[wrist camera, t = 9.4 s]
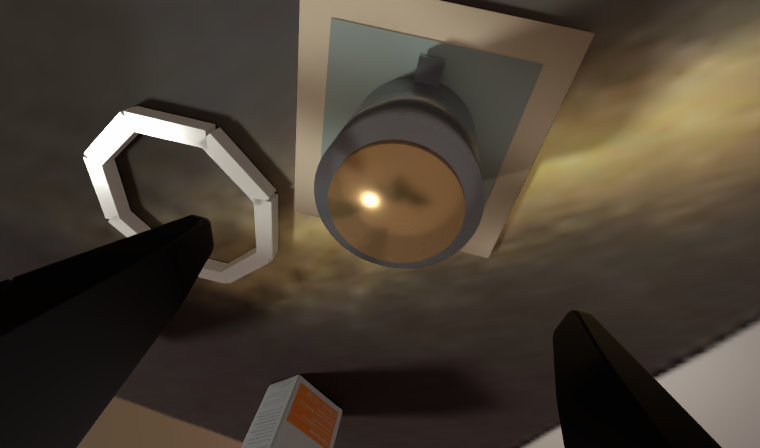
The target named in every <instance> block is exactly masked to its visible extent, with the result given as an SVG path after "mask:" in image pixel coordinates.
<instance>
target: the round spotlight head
mask: <svg viewBox="0 0 760 448" xmlns="http://www.w3.org/2000/svg"><path fill="white" fill-rule="evenodd" d="M445 62H446V59H445V58H441V57H437V56H432V55H428V54H424V53H420V55H419V59H418V64H417V68H416V73H415V77H403V78H398V79H394V80H391V81H389V82H387V83H384V84H383V85H381V86H379V87H378V88H376V89H375V90H374V91H372V92H371V93H370V94H369V95H368V96H367V97H366V98H365V100H364V101H363V102H362V104H361V105H360V106H359V108H358V109H357V110H356V112H355V113H354V114H353V116H352V117H351V118H350V120H349V121H348V122H347V124H346V125H345V126H344V128H343V129H342V130H341V132H340V133H339V134H338V136H337V137H336V138H335V140H334V141H333V142H332V144H331V145H330V146H329V148H328V149H327V150H326V152H325V153H324V155H323V156H322V158H321V160H320V162H319V164H318V167H317V171H316V174H315V180H314V197H315V203H316V207H317V210H318V213H319V215H320V217H321V220H322V222H323V223H324V225H325V227H326V228H327V230H328V231H329V232H330V234H331V235H332V236H333V237H334V238H335V239H336V240H337V241H338V242H339V243H340V244H341V245H342V246H343V247H345V248H346V249H347V250H349V251H350V252H352V253H353V254H355V255H357V256H359V257H360V258H362V259H365V260H367V261H369V262H372V263H375V264H378V265H382V266H387V267H394V268H417V267H423V266H428V265H431V264H435V263H438V262H440V261H442V260H444V259H447V258H448V257H450V256H452V255H453V254H455V253H456V252H458V251H459V250H460V249H461V248H463V247H464V246H465V245H466V244H467V242H468V241H469V240H470V239H471V238H472V236H473V235H474V234H475V232H476V230H477V228H478V226H479V224H480V221H481V218H482V216H483V210H484V201H485V194H484V187H483V180H482V174H481V167H480V160H479V154H478V147H477V141H476V134H475V127H474V123H473V119H472V116H471V114H470V112H469V109H468V108H467V106H466V105H465V103H464V102H463V100H462V99H461V98H460V97H459V96H458V95H457V94H456V93H455V92H454V91H453V90H452V89H450V88H448V87H447V86H445V85H444V84H442V83H440V80H441V77H442V73H443V69H444V66H445Z"/></svg>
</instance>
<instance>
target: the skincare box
mask: <svg viewBox="0 0 760 448" xmlns="http://www.w3.org/2000/svg"><path fill="white" fill-rule="evenodd" d="M341 416H342V409H341V408H339V407H338V406H336V405H335V404H334V403H333V402H332V401H330V400H329V399H328V398H327V397H325V396H324V395H323V394H322V393H320V392H319V391H318V390H317V389H316V388H315V387H313V386H312V385H311V384H310V383H309V382H308V381H306V380H305V379H304V378H303V377H302V376H301V375H296V376H294V377H291V378H288V379H285V380H282V381H279V382H276V383H273V384H271V385H270V386H269V388H268V390H267V392H266V394H265V396H264V398H263V400H262V403H261V405H260V407H259V409H258V411H257V414H256V416H255V418H254V420H253V422H252V424H251V427H250V429H249V431H248V433H247V435H246V437H245V440H244V442H243V444H242V446H241V448H333V446H334V442H335V438H336V435H337V431H338V427H339V423H340V419H341Z"/></svg>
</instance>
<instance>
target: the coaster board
mask: <svg viewBox="0 0 760 448" xmlns="http://www.w3.org/2000/svg"><path fill="white" fill-rule="evenodd" d="M594 35H595V33H592V32H588V31H583V30H578V29H573V28H569V27H564V26H559V25H555V24H550V23H545V22H541V21H536V20H531V19H527V18H522V17H517V16H512V15H508V14H503V13H498V12H494V11H489V10H484V9H480V8H475V7H470V6H466V5H461V4H456V3H451V2H447V1H442V0H300V17H299V54H298V90H297V127H296V163H295V200H294V211H295V212H299V213H303V214H307V215H311V216H315V217H320V215H319V213H318V210H317V207H316V203H315V197H314V180H315V174H316V171H317V167H318V164H319V162H320V160H321V158H322V156H323V155H324V153H325V152H326V150H327V149H328V148H329V146H330V145H331V144H332V142H333V141H334V140H335V138H336V137H337V136H338V134H339V133H340V132H341V130H342V129H343V128H344V126H345V125H346V124H347V122H348V121H349V120H350V118H351V117H352V116H353V114H354V113H355V112H356V110H357V109H358V108H359V106H360V105H361V104H362V102H363V101H364V100H365V98H366V97H367V96H368V95H369V94H370V93H371V92H372V91H374V90H375V89H376V88H378V87H379V86H381V85H383V84H384V83H387V82H389V81H391V80H394V79H398V78H403V77H415V73H416V68H417V64H418V59H419V55H420V53H424V54H428V55H432V56H437V57H441V58H445V59H446V62H445V66H444V69H443V73H442V77H441V80H440V83H442V84H444V85H445V86H447V87H448V88H450V89H452V90H453V91H454V92H455V93H456V94H457V95H458V96H459V97H460V98H461V99H462V100H463V102H464V103H465V105H466V106H467V108H468V109H469V112H470V114H471V116H472V119H473V123H474V127H475V134H476V141H477V147H478V154H479V160H480V167H481V174H482V180H483V187H484V194H485V201H484V210H483V216H482V218H481V221H480V224H479V226H478V228H477V230H476V232H475V234H474V235H473V236H472V238H471V239H470V240H469V241H468V242H467V244H466V245H465V246H464V247H463V248H461V249H460V250H459V251H460V252H464V253H468V254H472V255H476V256H481V257H485V258H489V256H490V254H491V252H492V249H493V247H494V245H495V243H496V241H497V239H498V237H499V235H500V233H501V231H502V228H503V226H504V224H505V222H506V220H507V218H508V216H509V214H510V212H511V209H512V207H513V205H514V203H515V201H516V199H517V197H518V195H519V193H520V191H521V188H522V186H523V184H524V182H525V180H526V178H527V176H528V174H529V172H530V170H531V167H532V165H533V163H534V161H535V159H536V157H537V155H538V153H539V151H540V148H541V146H542V144H543V142H544V140H545V138H546V136H547V134H548V132H549V130H550V127H551V125H552V123H553V121H554V119H555V117H556V115H557V113H558V111H559V109H560V106H561V104H562V102H563V100H564V98H565V96H566V94H567V92H568V90H569V87H570V85H571V83H572V81H573V79H574V77H575V75H576V73H577V71H578V69H579V66H580V64H581V62H582V60H583V58H584V56H585V54H586V52H587V50H588V48H589V45H590V43H591V41H592V39H593V37H594ZM320 218H321V217H320Z"/></svg>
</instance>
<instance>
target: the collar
mask: <svg viewBox="0 0 760 448" xmlns="http://www.w3.org/2000/svg"><path fill="white" fill-rule="evenodd" d="M139 133H141V134H145V135H150V136H154V137H158V138H162V139H166V140H171V141H175V142H179V143H183V144H187V145H192V146H196V147H200V148H203V149H204V150H205V151H206V152H207V153H208V155H209V156H210V157H211V158H212V159H213V160H214V161H215V162H216V163H217V164H218V165H219V166H220V167H221V168H222V169H223V170H224V171H225V173H226V174H227V175H228V176H229V177H230V178H231V179H232V180H233V181H234V182H235V183H236V184H237V185H238V186H239V187H240V188H241V189H242V191H243V192H244V193H245V194H246V195H247V196H248V197H249V198H250V199H251V200H252V201H253V202H254V216H255V234H256V248H254V249H252V250H250V251H249V252H247V253H245V254H243V255H242V256H240V257H238V258H236V259H234V260H233V261H231V262H229V263H224V262H220V261H216V260H212V259H208V260H207V262H206V264H205V265H204V267H203V269H202V270H201V272H200V274H199V276H198V277H200V278H204V279H208V280H211V281H215V282H219V283H223V284H226V283H228V284H230V283H232V282H234V281H236V280H238V279H239V278H241V277H243V276H245V275H247V274H249V273H251V272H253V271H255V270H257V269H259V268H261V267H263V266H264V265H266V264H268V263H270V262H271V261H272V260H273V258H274V257H275V255H276V254H277V252H278V194H275V191H276V189H275V188H274V187H273V186H272V185H271V184H270V182H269V181H268V180H267V179H266V178H265V177H264V176H263V175H262V174H261V172H260V171H259V170H258V169H257V168H256V167H255V166H254V165H253V164H252V162H251V161H250V160H249V159H248V158H247V157H246V156H245V155H244V153H243V152H242V151H241V150H240V149H239V148H238V147H237V146H236V145H235V143H234V142H233V141H232V140H231V139H230V138H229V137H228V136H227V134H226V133H225V132H224V131H223V130H222V129H221V128H220V127H219V128H218V129H216V126H215V124H212V123H208V122H204V121H199V120H195V119H191V118H187V117H182V116H178V115H174V114H169V113H165V112H161V111H157V110H152V109H148V108H144V107H140V106H136V107H131V108H129V109H126V110H124V111H121V112H119V113H118V114H117V116H116V117H115V118H114V119H113V120H112V121H111V122H110V124H109V125H108V126H107V127H106V128H105V129H104V130H103V132H102V133H101V134H100V135H99V136H98V137H97V138H96V139H95V141H94V142H93V143H92V144H91V145H90V146H89V147H88V149H87V150H86V151H85V152H84V153H83V154H84V155H86V156H84V157H83V158H84V161H85V164H86V167H87V169H88V172H89V175H90V177H91V180H92V183H93V186H94V188H95V191H96V194H97V196H98V199H99V202H100V204H101V207H102V210H103V213H104V215H105V218H107V219H110V220H109V221H108V222H109V223H110V224H112V225H113V226H114V227H115V228H116V229H118V230H119V231H120V232H121V233H122V234H124V235H125V236H126V237H130V236H132V235H135V234H138V233H141V232H144V231H147V230H149V229H151V228H150V227H149V226H147V225H146V224H145V223H144V222H143V221H142V220H141V219H139V218H138V217H137V216H136V215H135V214H134V213H133V212H132V211H130V207H129V204H128V201H127V198H126V195H125V191H124V188H123V185H122V182H121V179H120V175H119V172H118V169H117V166H116V162H115V158H116V157H117V156H118V155H119V154H120V153H121V152H122V151H123V149H124V148H125V147H126V146H127V145H128V144H129V143H130V142H131V141H132V140H133V139H134V138H135V137H136V136H137V135H138V134H139Z"/></svg>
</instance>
